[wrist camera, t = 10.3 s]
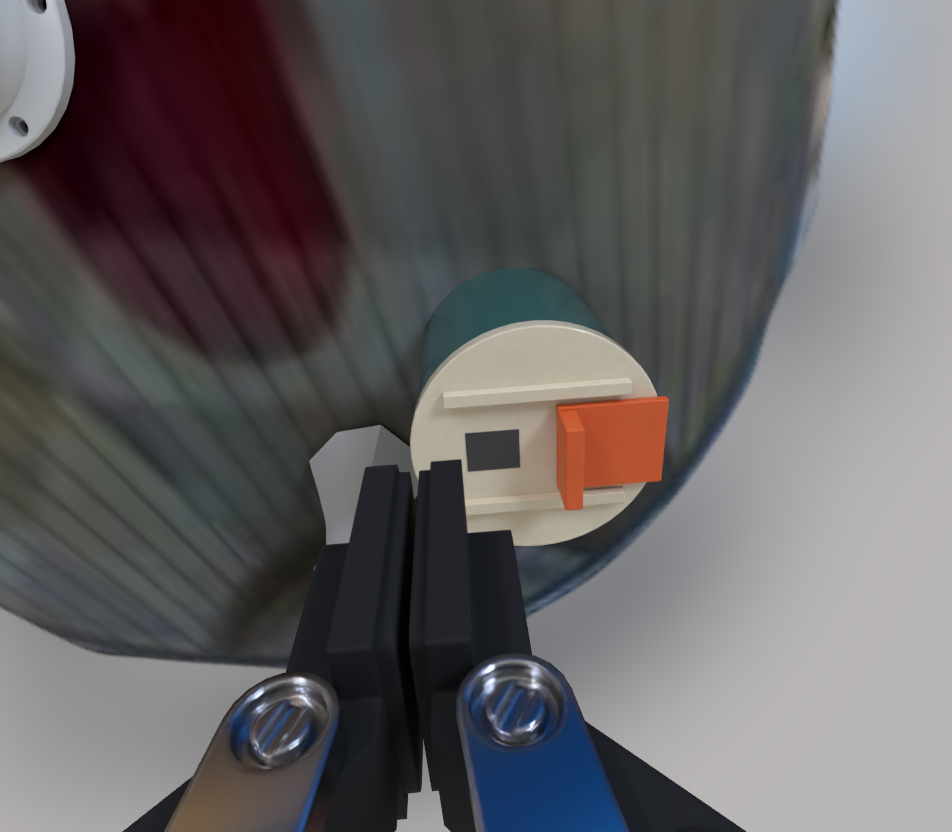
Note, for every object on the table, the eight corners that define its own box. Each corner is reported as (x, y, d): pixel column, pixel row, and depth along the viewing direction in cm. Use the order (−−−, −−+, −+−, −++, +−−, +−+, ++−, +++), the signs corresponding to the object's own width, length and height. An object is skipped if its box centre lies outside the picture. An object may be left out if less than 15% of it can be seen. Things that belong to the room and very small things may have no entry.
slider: (556, 485, 27) (565, 513, 26) (556, 404, 26) (565, 428, 24) (658, 476, 28) (675, 504, 26) (666, 395, 26) (684, 419, 24)
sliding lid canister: (428, 445, 39) (423, 562, 29) (408, 271, 33) (393, 340, 23) (601, 431, 39) (656, 543, 29) (608, 256, 34) (679, 319, 24)
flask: (290, 454, 38) (244, 557, 30) (385, 405, 37) (368, 497, 28) (351, 531, 42) (327, 645, 33) (442, 488, 40) (442, 595, 31)
